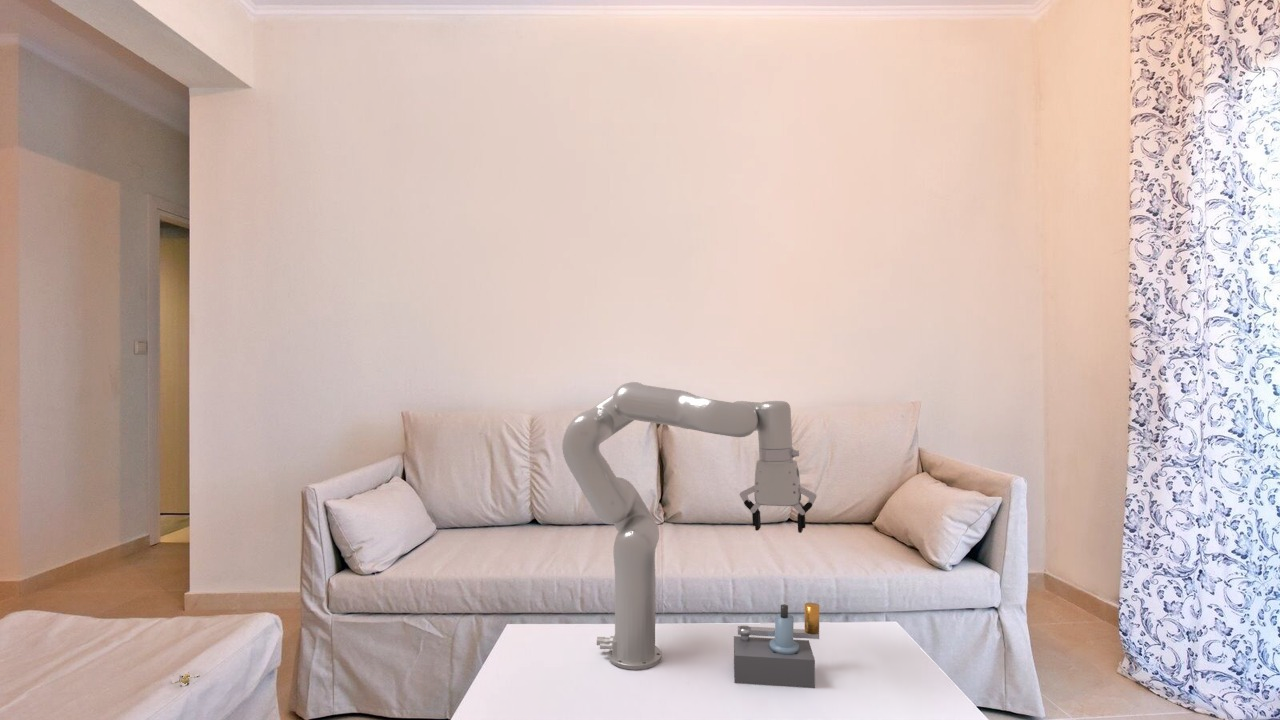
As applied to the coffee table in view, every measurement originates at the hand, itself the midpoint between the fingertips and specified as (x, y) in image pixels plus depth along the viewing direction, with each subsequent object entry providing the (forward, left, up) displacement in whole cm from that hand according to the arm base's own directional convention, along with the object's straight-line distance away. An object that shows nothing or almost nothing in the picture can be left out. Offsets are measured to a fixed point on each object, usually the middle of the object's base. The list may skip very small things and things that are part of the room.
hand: (779, 530), depth 151 cm
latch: (0, 0, -24) cm, 24 cm away
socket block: (-2, -4, -31) cm, 32 cm away
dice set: (-129, -23, -32) cm, 135 cm away
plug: (+1, -4, -29) cm, 30 cm away
